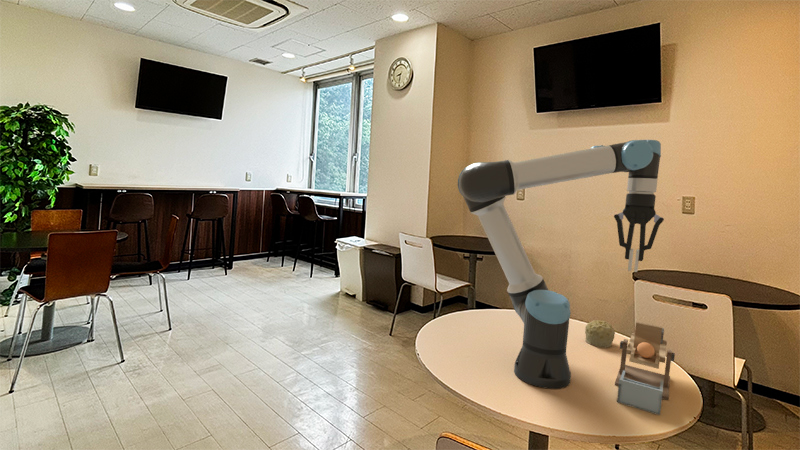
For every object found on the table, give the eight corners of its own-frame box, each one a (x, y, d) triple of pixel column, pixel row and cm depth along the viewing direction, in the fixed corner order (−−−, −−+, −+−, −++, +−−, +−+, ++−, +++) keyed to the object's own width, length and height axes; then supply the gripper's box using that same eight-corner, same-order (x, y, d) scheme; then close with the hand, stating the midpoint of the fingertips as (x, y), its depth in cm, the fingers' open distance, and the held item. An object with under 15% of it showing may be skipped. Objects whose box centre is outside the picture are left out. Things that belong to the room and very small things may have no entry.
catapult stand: (620, 365, 123) (623, 332, 122) (670, 379, 116) (675, 344, 114) (613, 384, 111) (617, 348, 109) (670, 401, 103) (674, 362, 102)
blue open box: (621, 387, 109) (623, 366, 108) (661, 399, 104) (663, 377, 103) (616, 401, 102) (619, 379, 101) (659, 415, 96) (662, 391, 96)
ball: (649, 361, 104) (651, 347, 103) (633, 356, 107) (634, 341, 106) (656, 358, 106) (658, 344, 106) (640, 352, 109) (641, 338, 109)
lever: (631, 336, 125) (635, 307, 124) (666, 344, 120) (669, 314, 119) (624, 360, 107) (627, 326, 106) (664, 370, 102) (668, 335, 101)
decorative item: (605, 359, 137) (626, 338, 135) (582, 339, 137) (603, 318, 136) (597, 348, 146) (617, 329, 144) (575, 330, 147) (595, 310, 145)
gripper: (669, 194, 118) (660, 272, 121) (616, 192, 126) (608, 265, 129) (669, 194, 112) (659, 276, 115) (613, 191, 120) (605, 268, 123)
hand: (632, 270), depth 122 cm, fingers closed
